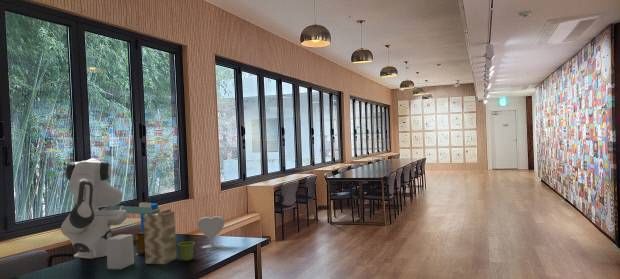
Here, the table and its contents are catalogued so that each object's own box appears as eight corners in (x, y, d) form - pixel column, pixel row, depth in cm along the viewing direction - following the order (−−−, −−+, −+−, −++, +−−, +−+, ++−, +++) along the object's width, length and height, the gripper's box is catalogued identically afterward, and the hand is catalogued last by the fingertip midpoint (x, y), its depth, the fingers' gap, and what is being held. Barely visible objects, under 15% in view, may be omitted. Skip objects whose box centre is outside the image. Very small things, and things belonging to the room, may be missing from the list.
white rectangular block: (107, 268, 236) (106, 239, 236) (121, 263, 246) (119, 234, 246) (121, 269, 234) (119, 239, 234) (134, 263, 244) (132, 234, 244)
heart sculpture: (198, 248, 273) (197, 218, 273) (199, 246, 278) (198, 217, 278) (224, 246, 275) (223, 216, 274) (225, 244, 280) (224, 215, 279)
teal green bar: (108, 212, 229) (108, 201, 230) (149, 214, 242) (149, 204, 244) (110, 211, 226) (111, 200, 228) (151, 213, 239) (152, 202, 241)
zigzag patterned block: (145, 263, 243) (143, 212, 243) (157, 258, 254) (154, 209, 253) (165, 264, 240) (163, 212, 240) (176, 258, 251) (174, 208, 251)
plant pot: (194, 256, 254) (194, 240, 254) (196, 260, 245) (196, 244, 245) (177, 258, 251) (176, 242, 251) (178, 262, 242) (178, 246, 242)
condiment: (138, 252, 270) (137, 232, 270) (152, 251, 271) (151, 231, 271) (134, 255, 263) (133, 234, 263) (149, 254, 264) (148, 233, 264)
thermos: (142, 242, 296) (140, 204, 296) (159, 240, 300) (157, 202, 299) (141, 245, 286) (139, 206, 286) (159, 244, 289) (157, 204, 289)
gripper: (116, 219, 215) (131, 201, 227) (80, 220, 220) (96, 202, 232) (121, 229, 218) (135, 211, 230) (85, 229, 223) (101, 211, 235)
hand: (115, 206), depth 231 cm, fingers closed on teal green bar, 6 cm apart
